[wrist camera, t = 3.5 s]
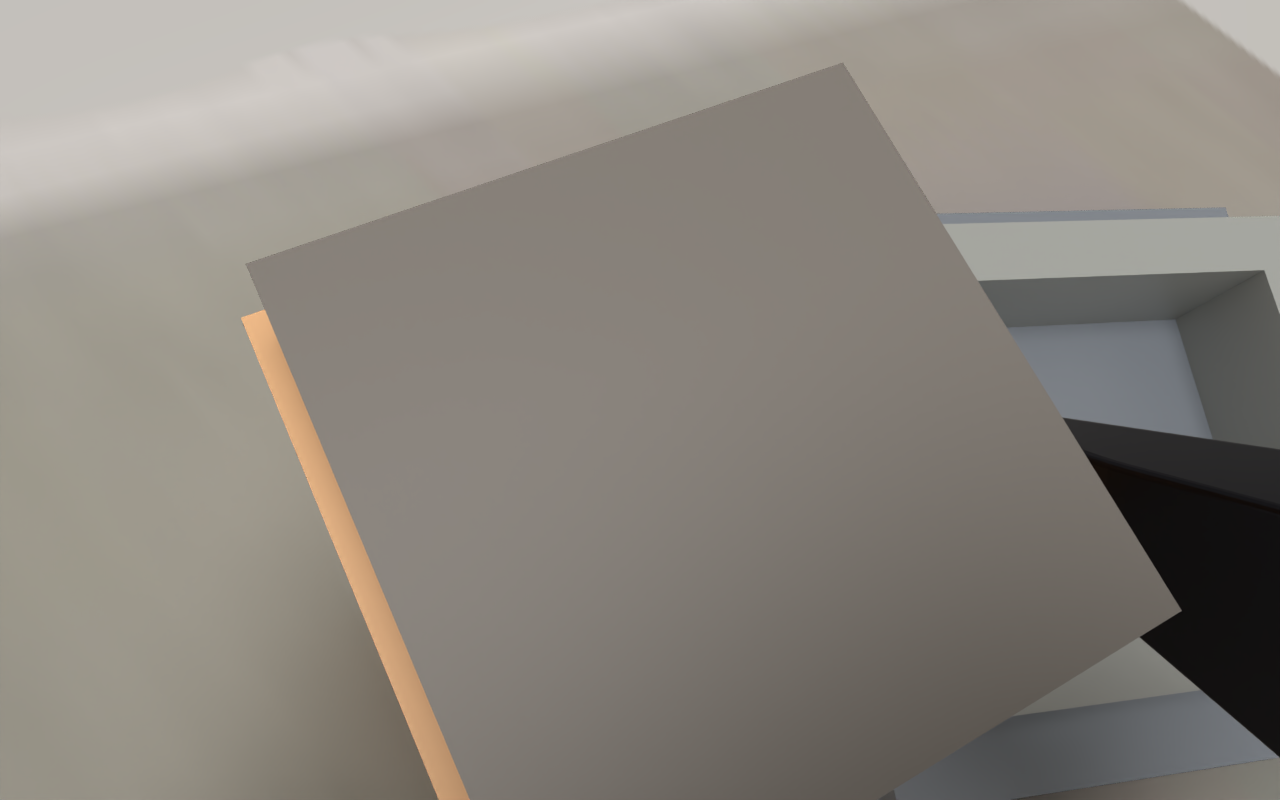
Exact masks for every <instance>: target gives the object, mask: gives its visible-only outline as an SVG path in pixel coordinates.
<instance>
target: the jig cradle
mask: <svg viewBox="0 0 1280 800" xmlns="http://www.w3.org/2000/svg"><path fill="white" fill-rule="evenodd" d="M937 216H938V217H939V219H940V221H941V222H942V224H943V225H944V227H945V229H946V230H947V232H948V234H949V235H950V237H951V238H952V240H953V242H954V243H955V245H956V246H957V248H958V250H959V251H960V253H961V255H962V256H963V258H964V259H965V261H966V263H967V264H968V266H969V267H970V269H971V271H972V272H973V274H974V276H975V277H976V279H977V280H978V282H979V284H980V285H981V287H982V289H983V290H984V292H985V293H986V295H987V297H988V298H989V300H990V301H991V303H992V305H993V306H994V308H995V310H996V311H997V313H998V314H999V316H1000V318H1001V319H1002V321H1003V322H1004V324H1005V326H1006V327H1007V329H1008V331H1009V332H1010V334H1011V335H1012V337H1013V339H1014V340H1015V342H1016V343H1017V345H1018V347H1019V348H1020V350H1021V352H1022V353H1023V355H1024V356H1025V358H1026V360H1027V361H1028V363H1029V365H1030V366H1031V368H1032V369H1033V371H1034V373H1035V374H1036V376H1037V377H1038V379H1039V381H1040V382H1041V384H1042V386H1043V387H1044V389H1045V390H1046V392H1047V394H1048V395H1049V397H1050V398H1051V400H1052V402H1053V403H1054V405H1055V407H1056V408H1057V410H1058V411H1059V413H1060V415H1061V416H1062V417H1063V418H1070V419H1077V420H1084V421H1091V422H1098V423H1104V424H1111V425H1118V426H1125V427H1132V428H1139V429H1146V430H1152V431H1159V432H1166V433H1173V434H1180V435H1187V436H1194V437H1200V438H1207V439H1214V440H1221V441H1228V442H1235V443H1242V444H1249V445H1255V446H1262V447H1269V448H1276V449H1280V216H1255V217H1228V214H1227V211H1226V208H1179V209H1134V210H1088V211H1042V212H996V213H950V214H937ZM1273 758H1279V757H1278V756H1277V755H1276V754H1275V753H1274V752H1273V751H1271V750H1270V749H1269V748H1268V747H1267V746H1266V745H1264V744H1263V743H1262V742H1261V741H1260V740H1259V739H1257V738H1256V737H1255V736H1254V735H1253V734H1252V733H1250V732H1249V731H1248V730H1247V729H1246V728H1245V727H1243V726H1242V725H1241V724H1240V723H1239V722H1238V721H1236V720H1235V719H1234V718H1233V717H1232V716H1231V715H1229V714H1228V713H1227V712H1226V711H1225V710H1224V709H1222V708H1221V707H1220V706H1219V705H1218V704H1217V703H1215V702H1214V701H1213V700H1212V699H1211V698H1210V697H1208V696H1207V695H1206V694H1205V693H1204V692H1203V691H1201V690H1200V689H1199V688H1198V687H1197V686H1196V685H1194V684H1193V683H1192V682H1191V681H1190V680H1189V679H1187V678H1186V677H1185V676H1184V675H1183V674H1182V673H1180V672H1179V671H1178V670H1177V669H1176V668H1175V667H1173V666H1172V665H1171V664H1170V663H1169V662H1168V661H1166V660H1165V659H1164V658H1163V657H1162V656H1161V655H1159V654H1158V653H1157V652H1156V651H1155V650H1154V649H1152V648H1151V647H1150V646H1149V645H1148V644H1147V643H1145V642H1144V641H1143V640H1142V639H1141V638H1140V637H1139V638H1137V639H1135V640H1134V641H1132V642H1131V643H1129V644H1127V645H1126V646H1124V647H1123V648H1121V649H1119V650H1118V651H1116V652H1114V653H1113V654H1111V655H1110V656H1108V657H1106V658H1105V659H1103V660H1102V661H1100V662H1098V663H1097V664H1095V665H1093V666H1092V667H1090V668H1089V669H1087V670H1085V671H1084V672H1082V673H1081V674H1079V675H1077V676H1076V677H1074V678H1073V679H1071V680H1069V681H1068V682H1066V683H1064V684H1063V685H1061V686H1060V687H1058V688H1056V689H1055V690H1053V691H1052V692H1050V693H1048V694H1047V695H1045V696H1044V697H1042V698H1040V699H1039V700H1037V701H1035V702H1034V703H1032V704H1031V705H1029V706H1027V707H1026V708H1024V709H1023V710H1021V711H1019V712H1018V713H1016V714H1014V715H1013V716H1011V717H1010V718H1008V719H1006V720H1005V721H1003V722H1002V723H1000V724H998V725H997V726H995V727H994V728H992V729H990V730H989V731H987V732H985V733H984V734H982V735H981V736H979V737H977V738H976V739H974V740H973V741H971V742H969V743H968V744H966V745H965V746H963V747H961V748H960V749H958V750H956V751H955V752H953V753H952V754H950V755H948V756H947V757H945V758H944V759H942V760H940V761H939V762H937V763H936V764H934V765H932V766H931V767H929V768H927V769H926V770H924V771H923V772H921V773H919V774H918V775H916V776H915V777H913V778H911V779H910V780H908V781H906V782H905V783H903V784H902V785H900V786H898V787H897V788H895V789H894V790H892V791H890V792H889V793H887V794H886V795H884V796H882V797H881V798H879V799H877V800H1012V799H1018V798H1025V797H1031V796H1037V795H1044V794H1050V793H1057V792H1063V791H1069V790H1076V789H1082V788H1088V787H1095V786H1101V785H1107V784H1114V783H1120V782H1126V781H1133V780H1139V779H1146V778H1152V777H1158V776H1165V775H1171V774H1177V773H1184V772H1190V771H1196V770H1203V769H1209V768H1216V767H1222V766H1228V765H1235V764H1241V763H1247V762H1254V761H1260V760H1266V759H1273Z"/></svg>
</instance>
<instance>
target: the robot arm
mask: <svg viewBox="0 0 1280 800" xmlns="http://www.w3.org/2000/svg"><path fill="white" fill-rule="evenodd" d="M1062 418H1063V417H1062ZM1063 420H1064V421H1065V423H1066V424H1067V426H1068V428H1069V429H1070V431H1071V432H1072V434H1073V436H1074V437H1075V439H1076V441H1077V442H1078V444H1079V445H1080V447H1081V449H1082V450H1083V452H1084V453H1085V455H1086V457H1087V458H1088V460H1089V462H1090V463H1091V465H1092V466H1093V468H1094V470H1095V471H1096V473H1097V474H1098V476H1099V478H1100V479H1101V481H1102V483H1103V484H1104V486H1105V487H1106V489H1107V491H1108V492H1109V494H1110V496H1111V497H1112V499H1113V500H1114V502H1115V504H1116V505H1117V507H1118V508H1119V510H1120V512H1121V513H1122V515H1123V517H1124V518H1125V520H1126V521H1127V523H1128V525H1129V526H1130V528H1131V529H1132V531H1133V533H1134V534H1135V536H1136V538H1137V539H1138V541H1139V542H1140V544H1141V546H1142V547H1143V549H1144V551H1145V552H1146V554H1147V555H1148V557H1149V559H1150V560H1151V562H1152V563H1153V565H1154V567H1155V568H1156V570H1157V572H1158V573H1159V575H1160V576H1161V578H1162V580H1163V581H1164V583H1165V584H1166V586H1167V588H1168V589H1169V591H1170V593H1171V594H1172V596H1173V597H1174V599H1175V601H1176V602H1177V604H1178V605H1179V607H1180V609H1181V610H1182V611H1181V612H1179V613H1177V614H1176V615H1174V616H1172V617H1171V618H1169V619H1168V620H1166V621H1164V622H1163V623H1161V624H1160V625H1158V626H1156V627H1155V628H1153V629H1152V630H1150V631H1148V632H1147V633H1145V634H1143V635H1142V636H1140V638H1141V639H1142V640H1143V641H1144V642H1145V643H1147V644H1148V645H1149V646H1150V647H1151V648H1152V649H1154V650H1155V651H1156V652H1157V653H1158V654H1159V655H1161V656H1162V657H1163V658H1164V659H1165V660H1166V661H1168V662H1169V663H1170V664H1171V665H1172V666H1173V667H1175V668H1176V669H1177V670H1178V671H1179V672H1180V673H1182V674H1183V675H1184V676H1185V677H1186V678H1187V679H1189V680H1190V681H1191V682H1192V683H1193V684H1194V685H1196V686H1197V687H1198V688H1199V689H1200V690H1201V691H1203V692H1204V693H1205V694H1206V695H1207V696H1208V697H1210V698H1211V699H1212V700H1213V701H1214V702H1215V703H1217V704H1218V705H1219V706H1220V707H1221V708H1222V709H1224V710H1225V711H1226V712H1227V713H1228V714H1229V715H1231V716H1232V717H1233V718H1234V719H1235V720H1236V721H1238V722H1239V723H1240V724H1241V725H1242V726H1243V727H1245V728H1246V729H1247V730H1248V731H1249V732H1250V733H1252V734H1253V735H1254V736H1255V737H1256V738H1257V739H1259V740H1260V741H1261V742H1262V743H1263V744H1264V745H1266V746H1267V747H1268V748H1269V749H1270V750H1271V751H1273V752H1274V753H1275V754H1276V755H1277V756H1278V757H1280V449H1276V448H1269V447H1262V446H1255V445H1249V444H1242V443H1235V442H1228V441H1221V440H1214V439H1207V438H1200V437H1194V436H1187V435H1180V434H1173V433H1166V432H1159V431H1152V430H1146V429H1139V428H1132V427H1125V426H1118V425H1111V424H1104V423H1098V422H1091V421H1084V420H1077V419H1070V418H1063Z"/></svg>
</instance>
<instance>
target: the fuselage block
mask: <svg viewBox="0 0 1280 800" xmlns="http://www.w3.org/2000/svg"><path fill="white" fill-rule="evenodd" d="M246 266H247V268H248V270H249V273H250V275H251V278H252V280H253V282H254V285H255V287H256V290H257V292H258V294H259V297H260V299H261V301H262V304H263V306H264V309H265V310H262V311H259V312H256V313H254V314H251V315H248V316H245V317H242V318H241V319H242V322H243V324H244V327H245V329H246V331H247V334H248V336H249V339H250V341H251V344H252V346H253V349H254V351H255V353H256V356H257V358H258V361H259V363H260V366H261V368H262V370H263V373H264V375H265V378H266V380H267V383H268V385H269V387H270V390H271V392H272V395H273V397H274V400H275V402H276V405H277V407H278V409H279V412H280V414H281V417H282V419H283V422H284V424H285V426H286V429H287V431H288V434H289V436H290V439H291V441H292V443H293V446H294V448H295V451H296V453H297V456H298V458H299V461H300V463H301V465H302V468H303V470H304V473H305V475H306V478H307V480H308V482H309V485H310V487H311V490H312V492H313V495H314V497H315V500H316V502H317V504H318V507H319V509H320V512H321V514H322V517H323V519H324V521H325V524H326V526H327V529H328V531H329V534H330V536H331V538H332V541H333V543H334V546H335V548H336V551H337V553H338V556H339V558H340V560H341V563H342V565H343V568H344V570H345V573H346V575H347V577H348V580H349V582H350V585H351V587H352V590H353V592H354V594H355V597H356V599H357V602H358V604H359V607H360V609H361V612H362V614H363V616H364V619H365V621H366V624H367V626H368V629H369V631H370V633H371V636H372V638H373V641H374V643H375V646H376V648H377V651H378V653H379V655H380V658H381V660H382V663H383V665H384V668H385V670H386V672H387V675H388V677H389V680H390V682H391V685H392V687H393V689H394V692H395V694H396V697H397V699H398V702H399V704H400V707H401V709H402V711H403V714H404V716H405V719H406V721H407V724H408V726H409V728H410V731H411V733H412V736H413V738H414V741H415V743H416V745H417V748H418V750H419V753H420V755H421V758H422V760H423V763H424V765H425V767H426V770H427V772H428V775H429V777H430V780H431V782H432V784H433V787H434V789H435V792H436V794H437V797H438V799H439V800H877V799H879V798H881V797H882V796H884V795H886V794H887V793H889V792H890V791H892V790H894V789H895V788H897V787H898V786H900V785H902V784H903V783H905V782H906V781H908V780H910V779H911V778H913V777H915V776H916V775H918V774H919V773H921V772H923V771H924V770H926V769H927V768H929V767H931V766H932V765H934V764H936V763H937V762H939V761H940V760H942V759H944V758H945V757H947V756H948V755H950V754H952V753H953V752H955V751H956V750H958V749H960V748H961V747H963V746H965V745H966V744H968V743H969V742H971V741H973V740H974V739H976V738H977V737H979V736H981V735H982V734H984V733H985V732H987V731H989V730H990V729H992V728H994V727H995V726H997V725H998V724H1000V723H1002V722H1003V721H1005V720H1006V719H1008V718H1010V717H1011V716H1013V715H1014V714H1016V713H1018V712H1019V711H1021V710H1023V709H1024V708H1026V707H1027V706H1029V705H1031V704H1032V703H1034V702H1035V701H1037V700H1039V699H1040V698H1042V697H1044V696H1045V695H1047V694H1048V693H1050V692H1052V691H1053V690H1055V689H1056V688H1058V687H1060V686H1061V685H1063V684H1064V683H1066V682H1068V681H1069V680H1071V679H1073V678H1074V677H1076V676H1077V675H1079V674H1081V673H1082V672H1084V671H1085V670H1087V669H1089V668H1090V667H1092V666H1093V665H1095V664H1097V663H1098V662H1100V661H1102V660H1103V659H1105V658H1106V657H1108V656H1110V655H1111V654H1113V653H1114V652H1116V651H1118V650H1119V649H1121V648H1123V647H1124V646H1126V645H1127V644H1129V643H1131V642H1132V641H1134V640H1135V639H1137V638H1139V637H1140V636H1142V635H1143V634H1145V633H1147V632H1148V631H1150V630H1152V629H1153V628H1155V627H1156V626H1158V625H1160V624H1161V623H1163V622H1164V621H1166V620H1168V619H1169V618H1171V617H1172V616H1174V615H1176V614H1177V613H1179V612H1181V611H1182V610H1181V609H1180V607H1179V605H1178V604H1177V602H1176V601H1175V599H1174V597H1173V596H1172V594H1171V593H1170V591H1169V589H1168V588H1167V586H1166V584H1165V583H1164V581H1163V580H1162V578H1161V576H1160V575H1159V573H1158V572H1157V570H1156V568H1155V567H1154V565H1153V563H1152V562H1151V560H1150V559H1149V557H1148V555H1147V554H1146V552H1145V551H1144V549H1143V547H1142V546H1141V544H1140V542H1139V541H1138V539H1137V538H1136V536H1135V534H1134V533H1133V531H1132V529H1131V528H1130V526H1129V525H1128V523H1127V521H1126V520H1125V518H1124V517H1123V515H1122V513H1121V512H1120V510H1119V508H1118V507H1117V505H1116V504H1115V502H1114V500H1113V499H1112V497H1111V496H1110V494H1109V492H1108V491H1107V489H1106V487H1105V486H1104V484H1103V483H1102V481H1101V479H1100V478H1099V476H1098V474H1097V473H1096V471H1095V470H1094V468H1093V466H1092V465H1091V463H1090V462H1089V460H1088V458H1087V457H1086V455H1085V453H1084V452H1083V450H1082V449H1081V447H1080V445H1079V444H1078V442H1077V441H1076V439H1075V437H1074V436H1073V434H1072V432H1071V431H1070V429H1069V428H1068V426H1067V424H1066V423H1065V421H1064V420H1063V418H1062V416H1061V415H1060V413H1059V411H1058V410H1057V408H1056V407H1055V405H1054V403H1053V402H1052V400H1051V398H1050V397H1049V395H1048V394H1047V392H1046V390H1045V389H1044V387H1043V386H1042V384H1041V382H1040V381H1039V379H1038V377H1037V376H1036V374H1035V373H1034V371H1033V369H1032V368H1031V366H1030V365H1029V363H1028V361H1027V360H1026V358H1025V356H1024V355H1023V353H1022V352H1021V350H1020V348H1019V347H1018V345H1017V343H1016V342H1015V340H1014V339H1013V337H1012V335H1011V334H1010V332H1009V331H1008V329H1007V327H1006V326H1005V324H1004V322H1003V321H1002V319H1001V318H1000V316H999V314H998V313H997V311H996V310H995V308H994V306H993V305H992V303H991V301H990V300H989V298H988V297H987V295H986V293H985V292H984V290H983V289H982V287H981V285H980V284H979V282H978V280H977V279H976V277H975V276H974V274H973V272H972V271H971V269H970V267H969V266H968V264H967V263H966V261H965V259H964V258H963V256H962V255H961V253H960V251H959V250H958V248H957V246H956V245H955V243H954V242H953V240H952V238H951V237H950V235H949V234H948V232H947V230H946V229H945V227H944V225H943V224H942V222H941V221H940V219H939V217H938V216H937V214H936V212H935V211H934V209H933V208H932V206H931V204H930V203H929V201H928V200H927V198H926V196H925V195H924V193H923V191H922V190H921V188H920V187H919V185H918V183H917V182H916V180H915V179H914V177H913V175H912V174H911V172H910V170H909V169H908V167H907V166H906V164H905V162H904V161H903V159H902V158H901V156H900V154H899V153H898V151H897V149H896V148H895V146H894V145H893V143H892V141H891V140H890V138H889V136H888V135H887V133H886V132H885V130H884V128H883V127H882V125H881V124H880V122H879V120H878V119H877V117H876V115H875V114H874V112H873V111H872V109H871V107H870V106H869V104H868V103H867V101H866V99H865V98H864V96H863V94H862V93H861V91H860V90H859V88H858V86H857V85H856V83H855V82H854V80H853V78H852V77H851V75H850V73H849V72H848V70H847V69H846V67H845V65H844V64H843V63H841V64H838V65H835V66H832V67H829V68H826V69H823V70H820V71H817V72H814V73H811V74H808V75H805V76H802V77H799V78H796V79H793V80H790V81H787V82H784V83H781V84H778V85H775V86H772V87H769V88H766V89H763V90H760V91H757V92H755V93H752V94H749V95H746V96H743V97H740V98H737V99H734V100H731V101H728V102H725V103H722V104H719V105H716V106H713V107H710V108H707V109H704V110H701V111H698V112H695V113H692V114H689V115H686V116H683V117H680V118H677V119H674V120H671V121H668V122H665V123H662V124H660V125H657V126H654V127H651V128H648V129H645V130H642V131H639V132H636V133H633V134H630V135H627V136H624V137H621V138H618V139H615V140H612V141H609V142H606V143H603V144H600V145H597V146H594V147H591V148H588V149H585V150H582V151H579V152H576V153H573V154H570V155H568V156H565V157H562V158H559V159H556V160H553V161H550V162H547V163H544V164H541V165H538V166H535V167H532V168H529V169H526V170H523V171H520V172H517V173H514V174H511V175H508V176H505V177H502V178H499V179H496V180H493V181H490V182H487V183H484V184H481V185H478V186H475V187H473V188H470V189H467V190H464V191H461V192H458V193H455V194H452V195H449V196H446V197H443V198H440V199H437V200H434V201H431V202H428V203H425V204H422V205H419V206H416V207H413V208H410V209H407V210H404V211H401V212H398V213H395V214H392V215H389V216H386V217H383V218H381V219H378V220H375V221H372V222H369V223H366V224H363V225H360V226H357V227H354V228H351V229H348V230H345V231H342V232H339V233H336V234H333V235H330V236H327V237H324V238H321V239H318V240H315V241H312V242H309V243H306V244H303V245H300V246H297V247H294V248H291V249H288V250H286V251H283V252H280V253H277V254H274V255H271V256H268V257H265V258H262V259H259V260H256V261H253V262H250V263H247V264H246Z"/></svg>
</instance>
